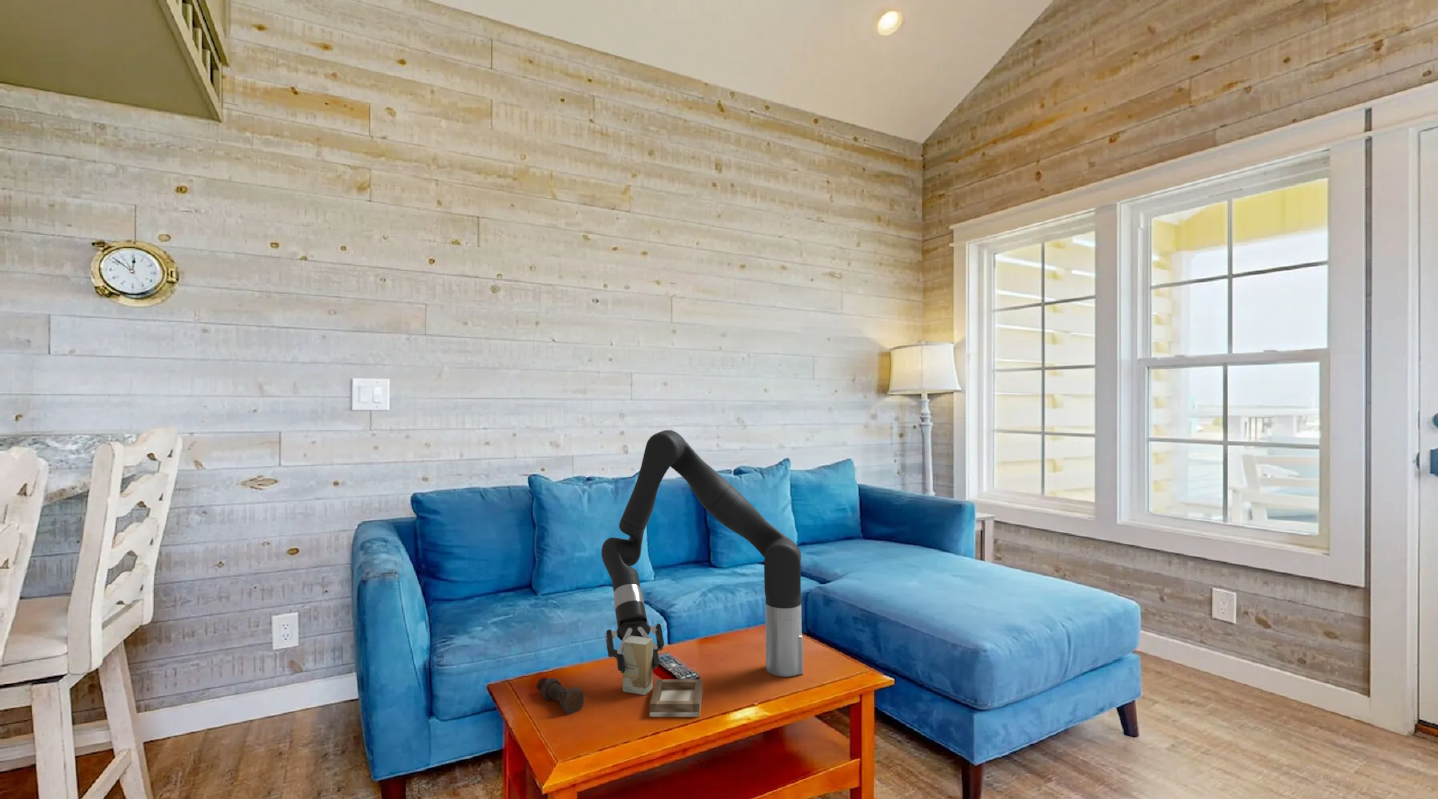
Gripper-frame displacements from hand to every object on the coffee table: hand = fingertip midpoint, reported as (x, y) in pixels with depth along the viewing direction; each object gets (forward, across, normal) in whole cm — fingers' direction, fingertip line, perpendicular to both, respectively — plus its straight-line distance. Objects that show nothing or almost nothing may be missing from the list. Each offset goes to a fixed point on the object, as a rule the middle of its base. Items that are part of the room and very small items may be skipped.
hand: (639, 669), depth 158 cm
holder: (+10, +7, -2) cm, 12 cm away
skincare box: (+3, 0, +5) cm, 6 cm away
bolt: (+3, -19, +6) cm, 20 cm away
